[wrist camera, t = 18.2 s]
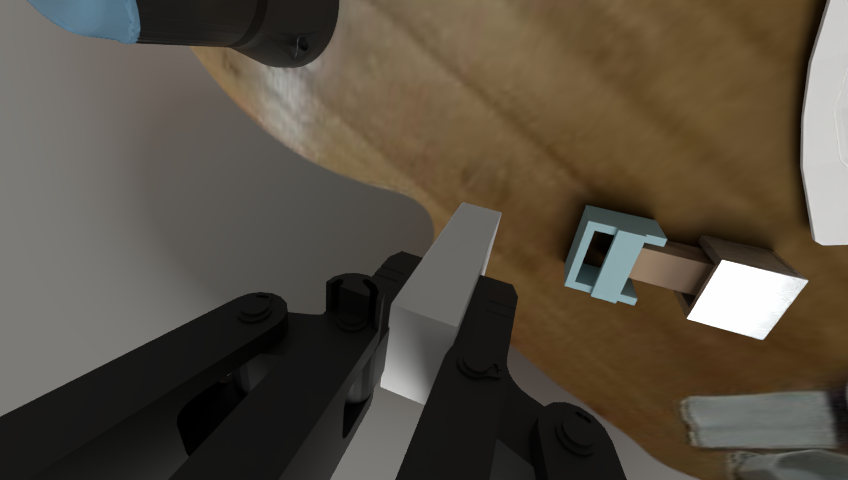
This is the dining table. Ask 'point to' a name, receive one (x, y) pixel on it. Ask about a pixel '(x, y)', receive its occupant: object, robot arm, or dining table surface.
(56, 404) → the robot arm
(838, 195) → the plate
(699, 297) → the end cap
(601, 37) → the dining table surface
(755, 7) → the dining table surface
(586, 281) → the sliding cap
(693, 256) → the batten
